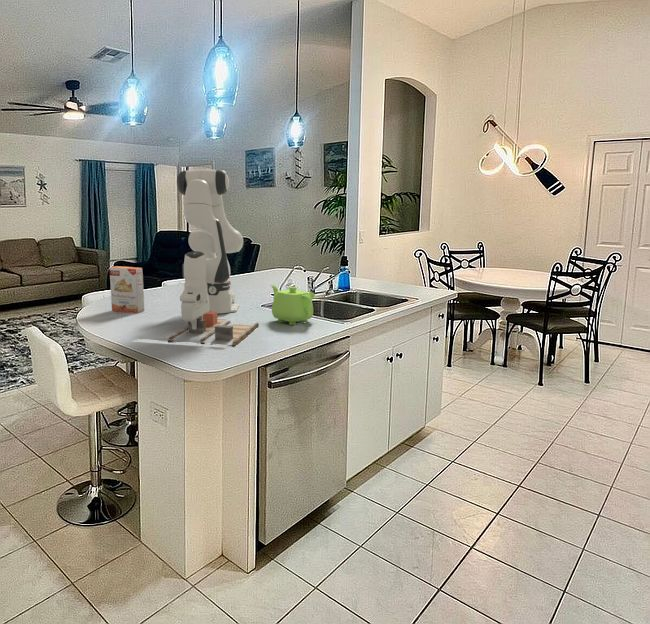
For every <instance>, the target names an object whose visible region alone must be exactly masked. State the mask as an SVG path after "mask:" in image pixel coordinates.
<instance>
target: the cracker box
mask: <svg viewBox="0 0 650 624" xmlns="http://www.w3.org/2000/svg"><path fill="white" fill-rule="evenodd" d="M109 281H110V284H109V285H110V301H111V302H110V304H111V311H112V312H122V313H123V312H124V313H132V312H133V313H132V314H139V313H142V312H144V311H145V295H144V294H145V293H144V292H145V291H144V274H143V267H134V266H118V265H116V266H111V267H109Z"/></svg>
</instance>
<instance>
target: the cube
mask: <svg viewBox="0 0 650 624" xmlns="http://www.w3.org/2000/svg"><path fill="white" fill-rule="evenodd" d="M203 319H205V324H206V325H209V326H214V325H215V324H217V319H218V313H217V312H215V311H209V312H207V313H206V314H204V315H203Z"/></svg>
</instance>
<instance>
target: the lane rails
mask: <svg viewBox="0 0 650 624" xmlns="http://www.w3.org/2000/svg"><path fill="white" fill-rule="evenodd" d="M259 323H260V322H255V323H254V324H253V325H251V327H250V328H249V329H247V330H246V331H245V332H244V333H242V334H241V335H240V336H239V337H237V338H236V339H235V340H234V341H232V347H233V346H236V345H237V346H238V345H239V344H240V343H242V342H243V341H244V340H245V339H246V338H248V337H249V336H250V335H251V334H252V333H253V332H255V331H256V330H257V329H258V328H259V327H260V326H259V325H260V324H259ZM229 324H231V320H226V321H225V323H223V324H222V325H224V326H229ZM256 328H257V329H256ZM255 329H256V330H255ZM254 330H255V331H254ZM187 331H188V326H186V327H184V328H183V329H181V330H179V331H178V332H175V333H174V334H173V335H171V336H169V337H168V343H170V344H171V343H173V342H174V340H173V339H174V338H177V337H178V336H180V335H182V334H183V333H186V332H187ZM214 335H215V329H214V330H211V332H208V333H207V335H206V334H205V336H204V337H202V338H200V339H199V341H200V344H203V345H205V344H206V342H204V341H206V340H208V339H209V338H210V337H211V336H214ZM248 335H249V336H248ZM241 341H242V342H241ZM237 346H236V347H237Z"/></svg>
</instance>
